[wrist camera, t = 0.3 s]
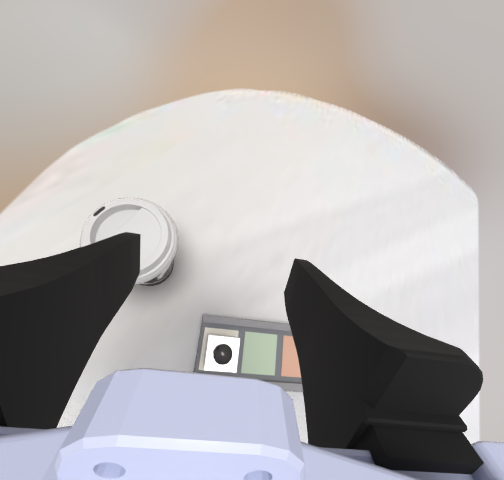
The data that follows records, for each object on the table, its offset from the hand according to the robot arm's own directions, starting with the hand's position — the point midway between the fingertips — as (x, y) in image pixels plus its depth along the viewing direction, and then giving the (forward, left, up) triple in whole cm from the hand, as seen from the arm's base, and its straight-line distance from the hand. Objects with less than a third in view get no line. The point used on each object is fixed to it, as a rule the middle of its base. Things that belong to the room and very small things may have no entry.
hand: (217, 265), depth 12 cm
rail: (-6, -9, -29) cm, 31 cm away
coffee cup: (+5, +9, -29) cm, 31 cm away
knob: (-6, -3, -27) cm, 28 cm away
